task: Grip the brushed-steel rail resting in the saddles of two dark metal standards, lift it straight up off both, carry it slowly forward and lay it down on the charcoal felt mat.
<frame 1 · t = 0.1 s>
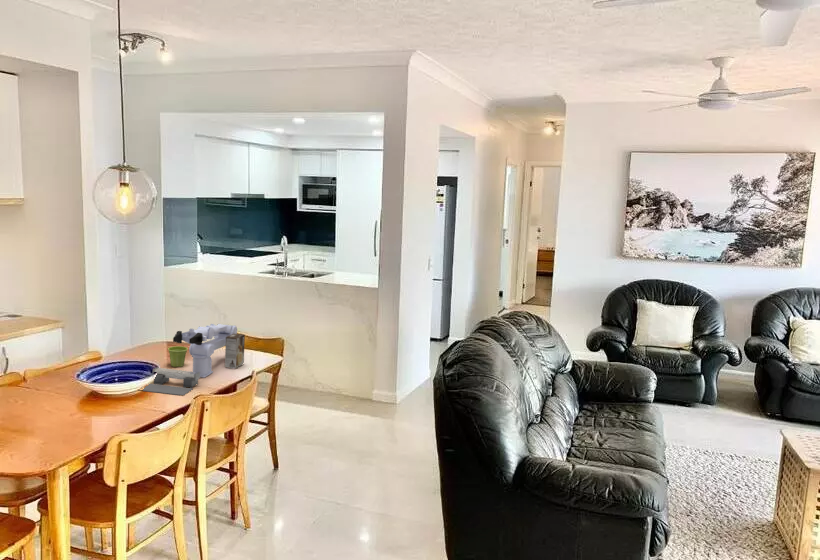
hand: (182, 340, 269), 22 cm above the table, tool horizontal, fingers open, 7 cm apart
plant pot: (177, 365, 303), on the table
mat: (165, 389, 267), on the table
rail: (176, 377, 275), point 3 cm above the table, touching standard a, standard b
standard b: (161, 382, 276), on the table
standard a: (190, 385, 275), on the table
coffee box: (234, 366, 309), on the table
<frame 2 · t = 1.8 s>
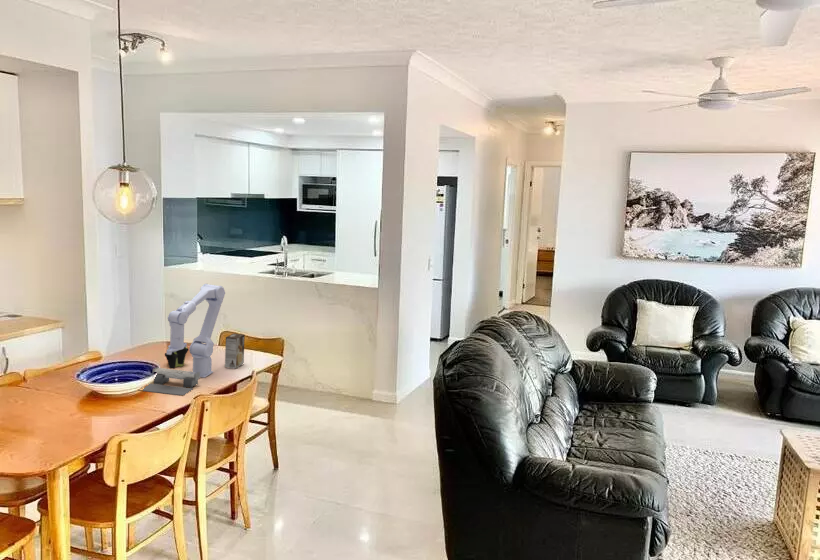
hand: (176, 366, 274), 8 cm above the table, tool pointing down, fingers open, 7 cm apart
nothing on the table moved.
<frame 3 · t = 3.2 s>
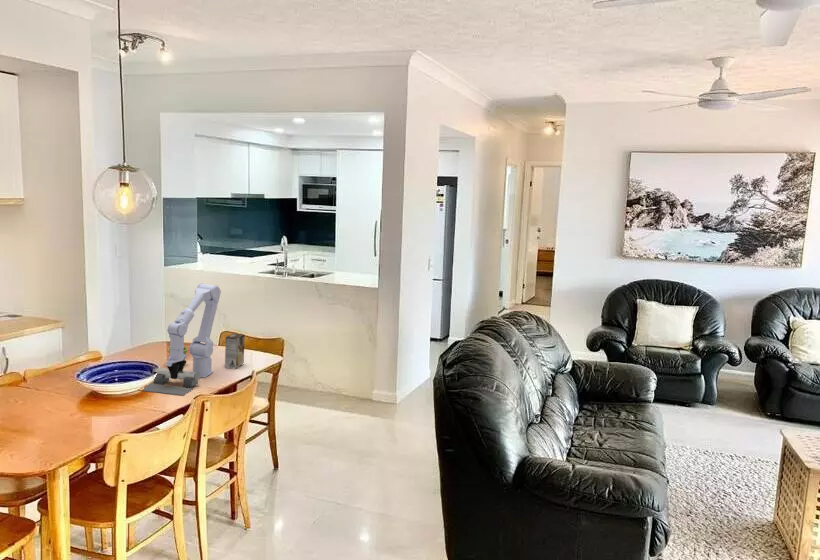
hand: (176, 377, 275), 3 cm above the table, tool pointing down, fingers closed on rail, 4 cm apart
rail: (176, 377, 275), point 3 cm above the table, touching gripper, standard a, standard b
everything else where it was.
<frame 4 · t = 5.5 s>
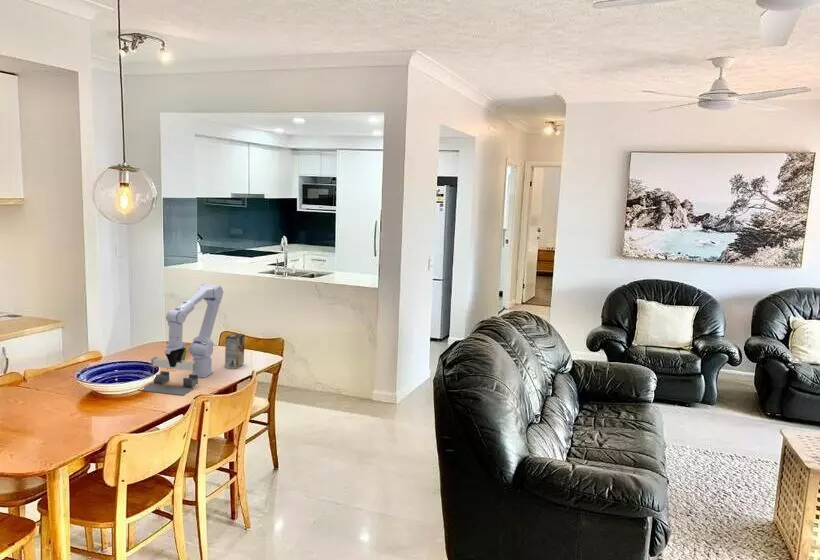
hand: (174, 365, 273), 9 cm above the table, tool pointing down, fingers closed on rail, 4 cm apart
rail: (174, 367, 273), point 8 cm above the table, touching gripper
everything else where it was.
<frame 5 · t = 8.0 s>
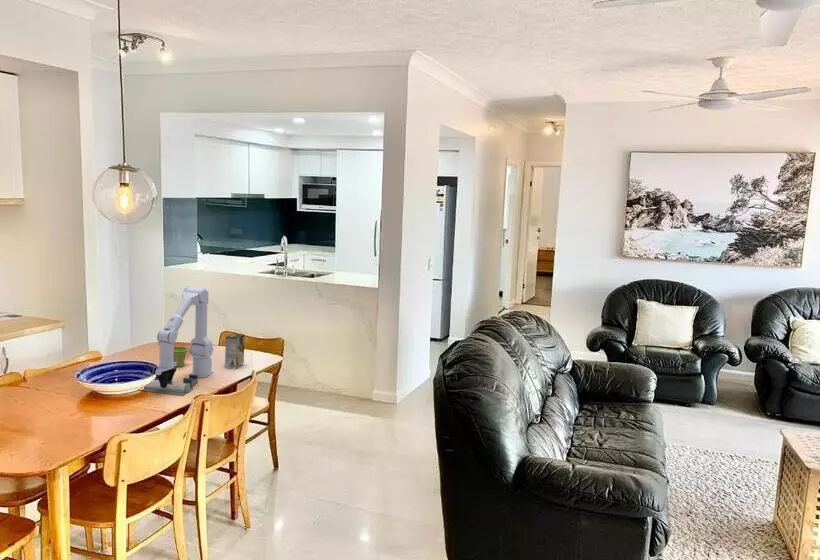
hand: (165, 386, 267), 2 cm above the table, tool pointing down, fingers closed on rail, 4 cm apart
rail: (166, 389, 267), resting on mat, touching gripper
everything else where it was.
when the fingers open (2 cm above the table, at t = 8.6 s): rail stays where it is, resting on mat.
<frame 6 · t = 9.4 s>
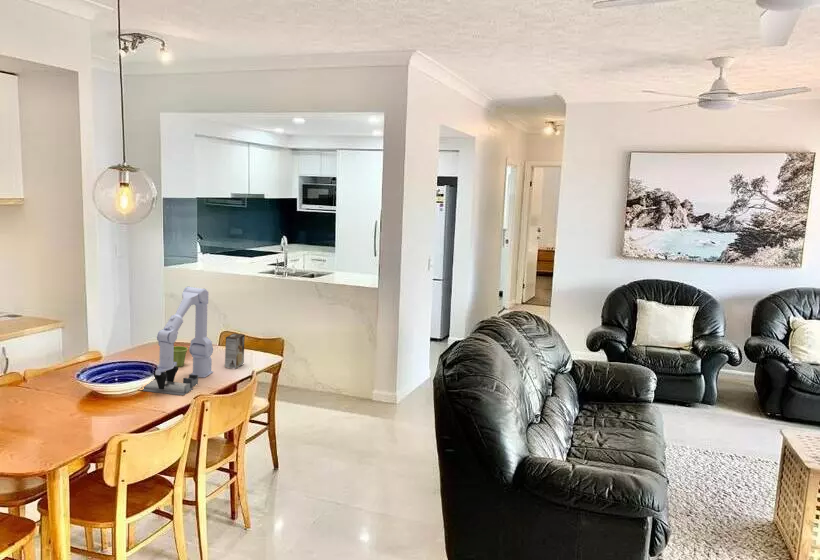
hand: (165, 386, 267), 2 cm above the table, tool pointing down, fingers open, 7 cm apart
rail: (166, 389, 267), resting on mat
everything else where it was.
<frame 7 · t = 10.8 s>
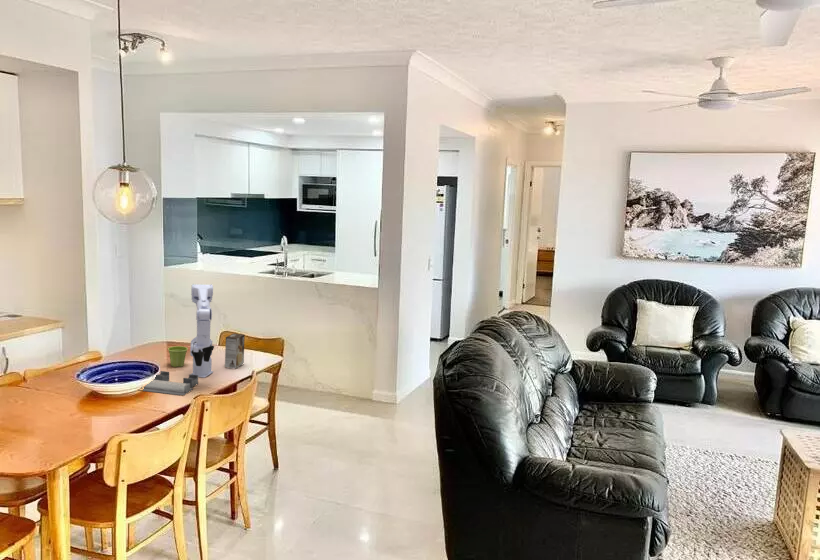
hand: (202, 363, 275), 10 cm above the table, tool pointing down, fingers open, 7 cm apart
nothing on the table moved.
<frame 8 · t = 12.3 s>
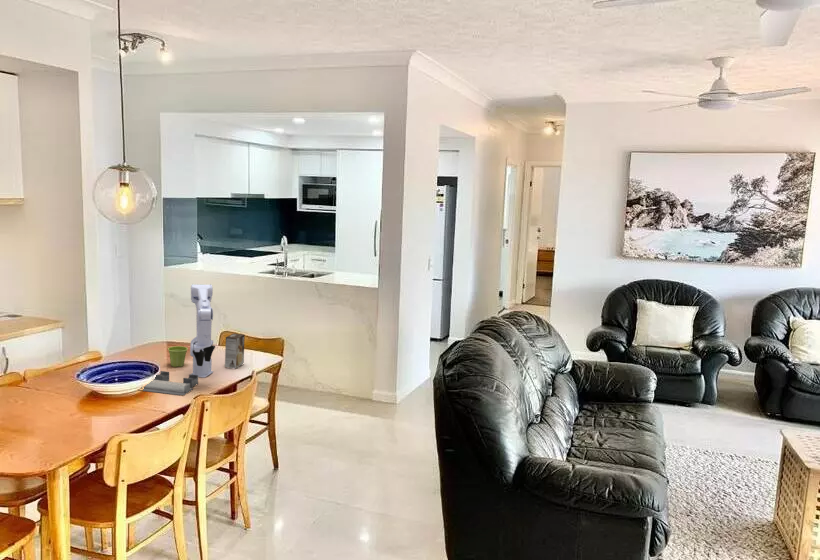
hand: (203, 363, 275), 10 cm above the table, tool pointing down, fingers open, 7 cm apart
nothing on the table moved.
at the end: rail inside the target area on the mat (0.1 cm from its centre), point 0.4 cm above the mat's base; rail resting on mat; the gripper is holding nothing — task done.
